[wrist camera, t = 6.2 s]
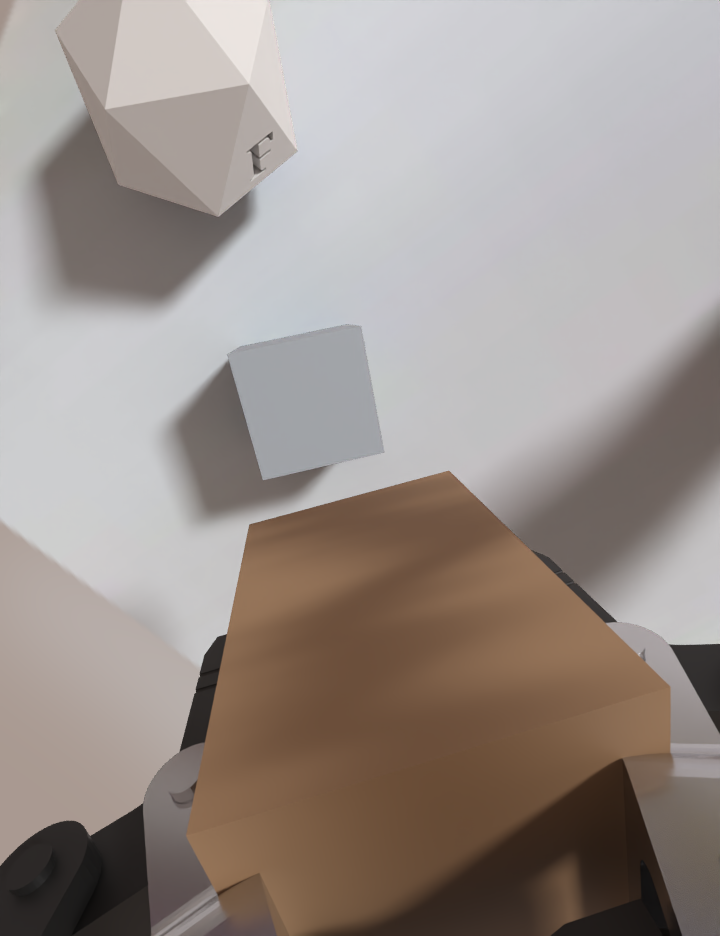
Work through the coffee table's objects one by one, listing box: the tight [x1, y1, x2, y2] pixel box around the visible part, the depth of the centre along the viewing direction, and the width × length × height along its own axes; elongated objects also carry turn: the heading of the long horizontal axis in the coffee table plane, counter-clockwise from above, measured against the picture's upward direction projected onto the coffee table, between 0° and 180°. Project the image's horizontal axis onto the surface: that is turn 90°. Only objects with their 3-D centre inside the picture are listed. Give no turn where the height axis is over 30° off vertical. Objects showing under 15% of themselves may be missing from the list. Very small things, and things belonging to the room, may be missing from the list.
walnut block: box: [186, 471, 671, 936], centre depth 9 cm, size 5×5×7 cm
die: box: [55, 0, 298, 217], centre depth 20 cm, size 8×9×10 cm
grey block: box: [227, 324, 384, 480], centre depth 26 cm, size 6×6×6 cm
